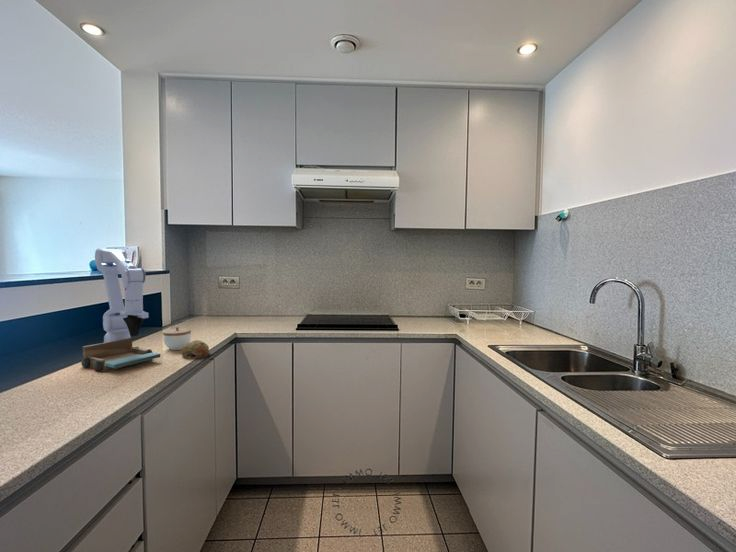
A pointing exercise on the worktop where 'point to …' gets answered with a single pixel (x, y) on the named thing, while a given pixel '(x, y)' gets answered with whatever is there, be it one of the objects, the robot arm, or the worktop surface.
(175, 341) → the lidded jar
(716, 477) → the worktop surface
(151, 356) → the tailgate
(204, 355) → the bread roll
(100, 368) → the cart bed
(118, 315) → the robot arm
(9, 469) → the worktop surface
